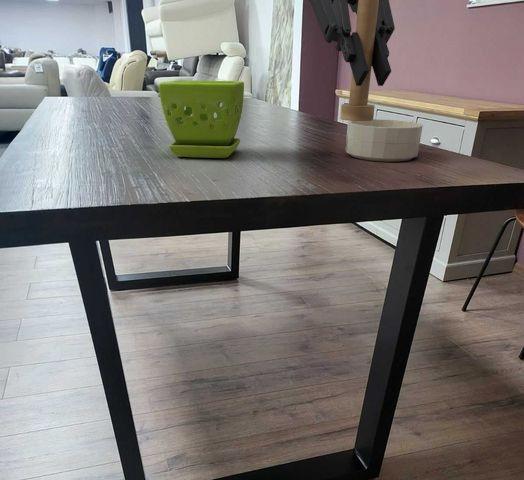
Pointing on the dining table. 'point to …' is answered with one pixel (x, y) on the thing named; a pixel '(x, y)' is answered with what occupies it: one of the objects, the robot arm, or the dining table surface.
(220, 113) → the flower pot
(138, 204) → the dining table surface
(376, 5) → the muddler
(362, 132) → the bowl
